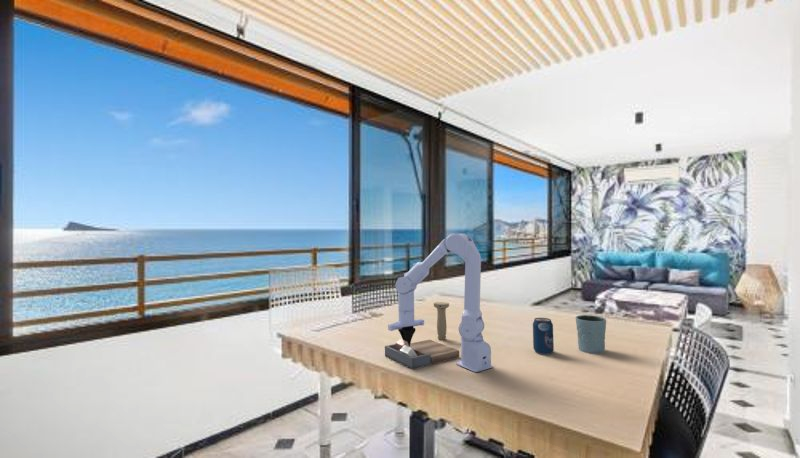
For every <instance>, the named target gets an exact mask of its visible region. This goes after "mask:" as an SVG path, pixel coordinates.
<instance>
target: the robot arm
mask: <svg viewBox="0 0 800 458" xmlns="http://www.w3.org/2000/svg"><path fill="white" fill-rule="evenodd" d="M452 253H453V254H455V255H457V256H458V257H459V258H460V259H462V260H463V261H464V263H465V264H464V267H465V268H464V295H463V296H464V299H463V300H464V302H463V303H464V305H463V306H464V307H463V312H462V315H461V321H460V324H459V326H458V334H459V336H460V348H461V349H460V350H461V351H460V352H461V353H460V355H461V356H460V359H461V360H460V361H457V362H455V364H456V365H457V366H460V367H463V368H465V369H467V370H470V371H472V372H474V373H478V372H481V371H485V370H487V369H488V370H489V369H491V368H493V367H494V366H493V365H492V352H491V351H492V348H491V346H490V344H489V342H486V341H485V340H484V336H483V334H482V333H483V331H484V329H485V322H484V320H483V317H482V316H483V315H482V314H483V312H482V311H481V275H482V274H481V273H482V272H481V271H482V269H481V268H482V255H481V254H480V253H481V252H479V250H478V248H477V246H476V245H475V243H474V239H473V238H472V237H470V236H469V235H468V234H466V233H463V232H462V233H461V232H460V233H456V232H455V233H454V232H452V233H450V234H448V235H447V236H446V237H445V238H444V239H442V240H441V242H440V243H438V245H437V246H436V247H435V248H434V249H433V250H432V251H431V253H429V255H428V256H426V258H425V259H424V260H423V261H422V262H421V261H417V262H414V263H413V264H412V267H411V268H410V269H408V270H409V271H407V272H405V273H403V276H401V277H398V278H397V280H396V281H395V290H396V292H398V293H397V294H398V298H397V301H398V307H397V308H398V321H397V322H392V323H389V324H388V325H387V326H388V327H387V330H388V331H390V332H394V331H396V330H397V331H398V333H399V334H400V336H401V339H402V340H404V341H407V342H408V345H409V347H410V344H411V343H412V340H413V336H414V334H415V332H416V328H415V327H418V326H425V320H424V319H422V318H418V319H415V290H416V289H417V287H418V285H419V284H420V283H421V282H422V281H424V279H425V278H426V277H427V276H428V275H429V274H430V268H432V267H433V266H434V265H435V264H436V263H438V262H439V261H440V260H441V259H442V258H443V257H444V256H446V255H448V254H452Z"/></svg>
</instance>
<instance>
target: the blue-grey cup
mask: <svg viewBox="0 0 800 458" xmlns="http://www.w3.org/2000/svg"><path fill="white" fill-rule="evenodd" d="M575 323H576V331H577V346H578V347H577V348H578V350H579V351H581V352H583V353H586V354H587V353H588V354H590V355H591V354H593V355H601V354H604V353H605V349H606V341H605V340H606V328H607V319H606V318H605V317H603V316H598V315H593V314H592V315H591V314H589V315H588V314H581V315H580V314H579V315H577V316H575Z"/></svg>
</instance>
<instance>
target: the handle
mask: <svg viewBox="0 0 800 458" xmlns="http://www.w3.org/2000/svg"><path fill="white" fill-rule="evenodd" d="M433 307H434V308H436V310H437V313H436V314H437V316H436V318H437V320H436V330H437V331H436V332H437V339H438V340H439V341H445V340H446V339H447V315H446V314H447V313H446V309H447V308H449V307H450V303H449V302H446V301H445V302H444V301H441V302H439V301H438V302H437V301H435V302H433Z"/></svg>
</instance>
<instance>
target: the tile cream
mask: <svg viewBox="0 0 800 458" xmlns="http://www.w3.org/2000/svg"><path fill="white" fill-rule="evenodd" d="M400 352H402V353H404V354H406V355H408V356H410V357H417V355H416V353H415V352H414V350H413V349H412V348H411V347H408V346H406V345H404V346H403V347H402V348H401V349H400Z"/></svg>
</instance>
